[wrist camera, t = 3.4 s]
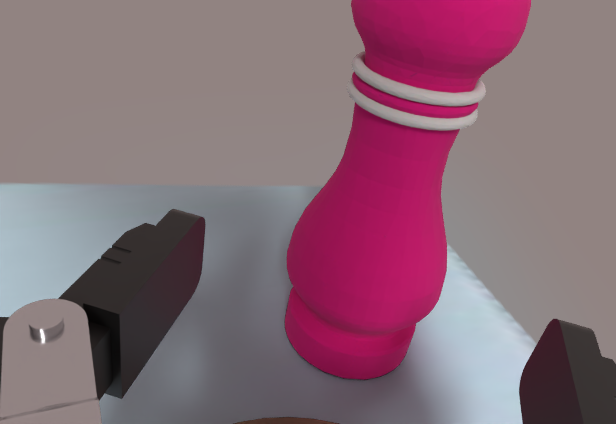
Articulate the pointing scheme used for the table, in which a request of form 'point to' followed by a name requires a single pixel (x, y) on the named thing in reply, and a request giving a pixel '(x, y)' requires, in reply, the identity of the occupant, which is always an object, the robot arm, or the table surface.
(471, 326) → the table surface
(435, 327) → the table surface
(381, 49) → the pepper mill
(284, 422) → the walnut board
